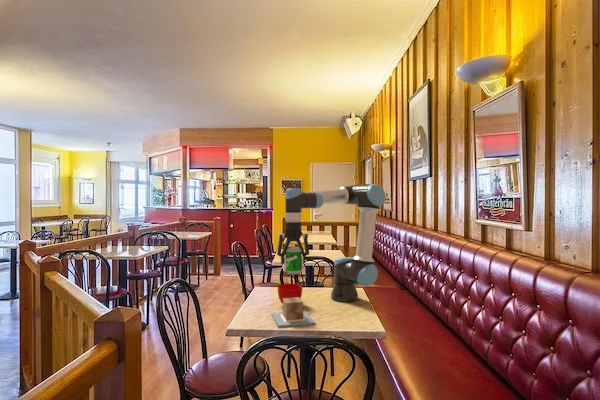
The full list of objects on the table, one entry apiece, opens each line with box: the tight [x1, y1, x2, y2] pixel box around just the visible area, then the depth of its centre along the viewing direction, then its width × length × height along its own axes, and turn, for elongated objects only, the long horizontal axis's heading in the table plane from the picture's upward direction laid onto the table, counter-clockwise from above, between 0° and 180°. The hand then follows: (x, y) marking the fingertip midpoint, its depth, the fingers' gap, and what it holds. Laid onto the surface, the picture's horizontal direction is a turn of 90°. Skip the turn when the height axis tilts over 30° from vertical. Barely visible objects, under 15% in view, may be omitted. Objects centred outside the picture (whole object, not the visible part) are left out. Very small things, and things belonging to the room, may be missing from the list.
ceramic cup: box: [277, 282, 303, 305], centre depth 195 cm, size 13×17×10 cm
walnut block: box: [282, 297, 304, 321], centre depth 171 cm, size 8×8×8 cm
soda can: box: [285, 246, 302, 275], centre depth 170 cm, size 8×8×12 cm
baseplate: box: [271, 310, 316, 329], centre depth 171 cm, size 17×17×1 cm
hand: (293, 270), depth 170 cm, fingers closed on soda can, 7 cm apart
